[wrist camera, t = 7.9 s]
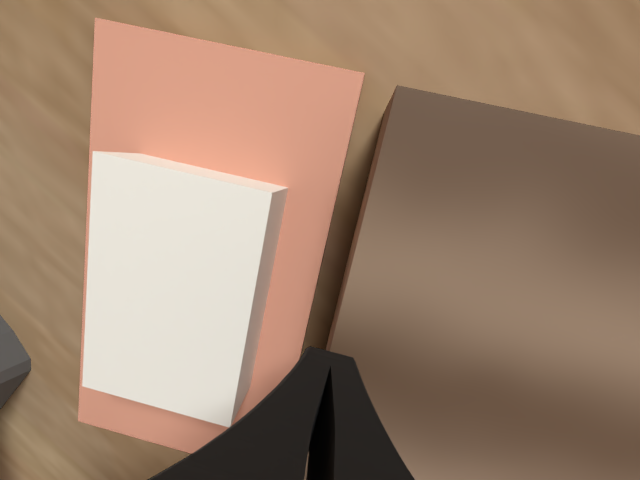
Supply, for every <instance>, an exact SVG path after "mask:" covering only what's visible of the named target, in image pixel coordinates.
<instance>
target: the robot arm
mask: <svg viewBox="0 0 640 480" xmlns="http://www.w3.org/2000/svg"><path fill="white" fill-rule="evenodd" d="M308 451H309V456H308ZM307 456H308V466H307V477H306V480H415V479H414V477H413V476H412V474H411V473H410V471H409V470H408V468H407V467H406V465H405V463H404V462H403V460H402V459H401V457H400V455H399V453H398V452H397V450H396V448H395V446H394V445H393V443H392V441H391V439H390V437H389V436H388V434H387V432H386V430H385V428H384V426H383V424H382V422H381V420H380V418H379V416H378V414H377V412H376V410H375V408H374V406H373V404H372V402H371V400H370V397H369V395H368V393H367V390H366V388H365V386H364V383H363V381H362V378H361V376H360V373H359V370H358V367H357V365H356V362H355V360H354V358H353V357H350V356H346V355H342V354H338V353H334V352H330V351H327V350H323V349H319V348H315V347H311V346H310V347H308V348H306V349H305V352H304V353H303V355H302V356H301V358H300V359H299V361H298V362H297V363H296V365H295V366H294V367H293V368H292V370H291V371H290V372H289V373H288V374H287V375H286V376H285V377H284V379H283V380H282V381H281V382H280V383H279V384H278V385H277V386H276V387H275V388H274V389H273V390H272V391H271V392H270V393H269V394H268V395H267V396H266V397H265V398H264V399H263V400H262V401H260V402H259V403H258V404H257V405H256V406H255V407H254V408H253V409H252V410H250V411H249V412H248V413H247V414H246V415H245V416H243V417H242V418H241V419H240V420H238V421H237V422H236V423H235V424H233V425H232V426H231V427H229V428H228V429H227V430H225V431H224V432H223V433H221V434H220V435H218V436H217V437H216V438H214V439H213V440H211V441H210V442H208V443H207V444H205V445H204V446H203V447H201V448H200V449H198V450H197V451H195V452H194V453H192V454H191V455H189V456H187V457H186V458H184V459H183V460H181V461H179V462H178V463H176V464H174V465H172V466H171V467H169V468H167V469H165V470H164V471H162V472H160V473H158V474H157V475H155V476H153V477H151V478H150V479H148V480H304V476H305V469H306V463H307Z"/></svg>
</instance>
